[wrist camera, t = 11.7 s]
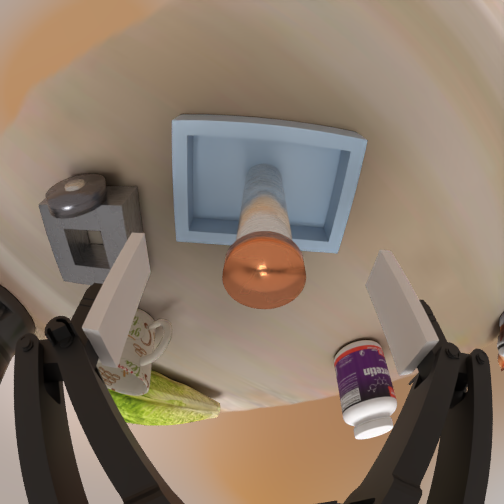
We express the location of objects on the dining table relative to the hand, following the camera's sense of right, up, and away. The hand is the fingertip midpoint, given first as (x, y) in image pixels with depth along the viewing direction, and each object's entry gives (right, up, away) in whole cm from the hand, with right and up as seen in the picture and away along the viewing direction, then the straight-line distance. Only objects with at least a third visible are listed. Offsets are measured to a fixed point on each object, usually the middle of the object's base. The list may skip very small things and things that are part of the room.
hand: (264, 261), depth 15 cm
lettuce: (-18, -23, +33) cm, 44 cm away
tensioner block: (-17, +3, +13) cm, 21 cm away
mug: (-15, -8, +21) cm, 27 cm away
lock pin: (0, +7, +9) cm, 11 cm away
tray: (0, +7, +10) cm, 12 cm away
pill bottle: (+16, -15, +26) cm, 34 cm away
